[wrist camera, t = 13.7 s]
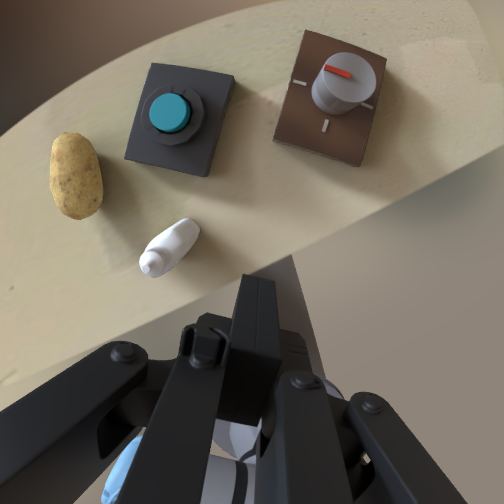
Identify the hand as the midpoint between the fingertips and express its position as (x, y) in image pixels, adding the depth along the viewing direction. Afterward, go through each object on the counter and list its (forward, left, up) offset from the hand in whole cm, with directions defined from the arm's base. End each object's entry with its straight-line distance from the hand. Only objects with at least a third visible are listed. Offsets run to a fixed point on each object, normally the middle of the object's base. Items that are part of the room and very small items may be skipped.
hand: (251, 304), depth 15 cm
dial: (+16, -4, -20) cm, 27 cm away
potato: (0, +23, -23) cm, 33 cm away
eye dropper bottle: (-4, +9, -23) cm, 25 cm away
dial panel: (+16, -4, -23) cm, 29 cm away
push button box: (+9, +12, -23) cm, 28 cm away
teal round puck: (+9, +12, -19) cm, 25 cm away
